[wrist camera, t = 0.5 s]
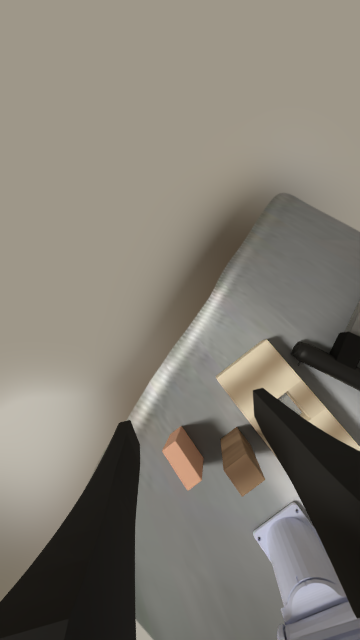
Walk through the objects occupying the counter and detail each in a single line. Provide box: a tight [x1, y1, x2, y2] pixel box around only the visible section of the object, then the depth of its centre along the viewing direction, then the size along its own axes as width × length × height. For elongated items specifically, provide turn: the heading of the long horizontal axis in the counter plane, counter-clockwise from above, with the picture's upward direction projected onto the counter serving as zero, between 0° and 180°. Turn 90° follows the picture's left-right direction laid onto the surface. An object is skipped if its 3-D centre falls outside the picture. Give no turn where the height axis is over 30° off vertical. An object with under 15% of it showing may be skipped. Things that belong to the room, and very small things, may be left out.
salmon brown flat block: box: [162, 426, 203, 490], centre depth 32 cm, size 6×2×6 cm, turn 37°
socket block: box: [216, 340, 360, 459], centre depth 32 cm, size 20×10×3 cm, turn 37°
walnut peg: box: [220, 427, 265, 497], centre depth 29 cm, size 3×3×9 cm
